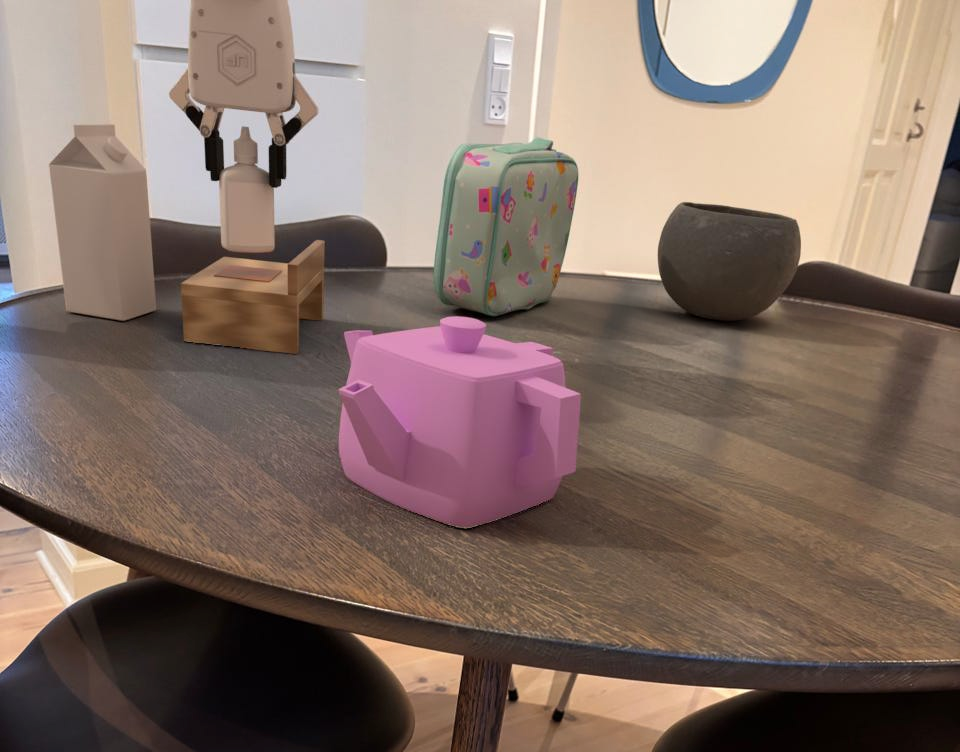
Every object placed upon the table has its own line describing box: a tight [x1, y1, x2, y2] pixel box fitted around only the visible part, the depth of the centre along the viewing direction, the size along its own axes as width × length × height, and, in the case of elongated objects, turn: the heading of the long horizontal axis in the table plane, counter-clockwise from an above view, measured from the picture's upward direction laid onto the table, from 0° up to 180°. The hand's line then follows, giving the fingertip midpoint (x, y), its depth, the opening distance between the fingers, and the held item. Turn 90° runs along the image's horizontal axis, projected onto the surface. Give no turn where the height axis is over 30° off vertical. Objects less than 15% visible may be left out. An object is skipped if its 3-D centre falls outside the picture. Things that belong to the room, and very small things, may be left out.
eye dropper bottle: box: [218, 125, 276, 254], centre depth 100 cm, size 4×6×12 cm
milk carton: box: [48, 124, 157, 322], centre depth 102 cm, size 7×7×19 cm
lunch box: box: [433, 136, 579, 317], centre depth 128 cm, size 27×10×21 cm, turn 154°
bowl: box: [657, 201, 802, 322], centre depth 138 cm, size 20×20×15 cm
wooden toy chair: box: [180, 239, 325, 355], centre depth 105 cm, size 12×18×9 cm, turn 179°
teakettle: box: [338, 315, 582, 527], centre depth 68 cm, size 17×17×12 cm
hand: (246, 181), depth 99 cm, fingers closed on eye dropper bottle, 5 cm apart
